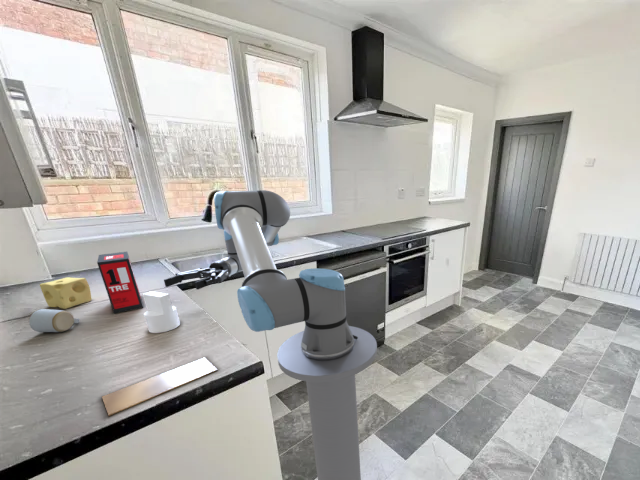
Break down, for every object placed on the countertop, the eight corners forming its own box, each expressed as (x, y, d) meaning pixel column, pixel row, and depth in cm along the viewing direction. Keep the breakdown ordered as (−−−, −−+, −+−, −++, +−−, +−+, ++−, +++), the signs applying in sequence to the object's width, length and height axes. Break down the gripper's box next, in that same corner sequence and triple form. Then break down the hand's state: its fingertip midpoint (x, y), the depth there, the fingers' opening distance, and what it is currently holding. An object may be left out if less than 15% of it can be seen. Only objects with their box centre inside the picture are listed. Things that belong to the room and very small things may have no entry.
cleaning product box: (114, 301, 129) (98, 254, 122) (140, 296, 134) (127, 251, 128) (114, 313, 117) (97, 262, 110) (143, 307, 122) (128, 258, 116)
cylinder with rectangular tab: (186, 323, 108) (178, 291, 104) (160, 334, 100) (150, 300, 96) (168, 319, 111) (160, 288, 107) (142, 330, 103) (132, 296, 99)
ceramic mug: (58, 335, 100) (49, 314, 98) (33, 336, 100) (24, 314, 98) (88, 322, 110) (81, 302, 108) (65, 322, 110) (58, 302, 108)
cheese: (65, 309, 122) (55, 285, 118) (46, 307, 124) (36, 283, 121) (94, 300, 131) (86, 277, 128) (76, 298, 134) (68, 276, 130)
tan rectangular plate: (204, 358, 86) (204, 357, 86) (217, 370, 80) (217, 369, 80) (102, 397, 71) (101, 396, 71) (108, 416, 65) (108, 415, 65)
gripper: (250, 278, 128) (212, 296, 109) (200, 275, 134) (155, 292, 115) (247, 261, 126) (207, 276, 106) (196, 258, 132) (150, 272, 112)
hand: (180, 284), depth 110 cm, fingers open, 13 cm apart
